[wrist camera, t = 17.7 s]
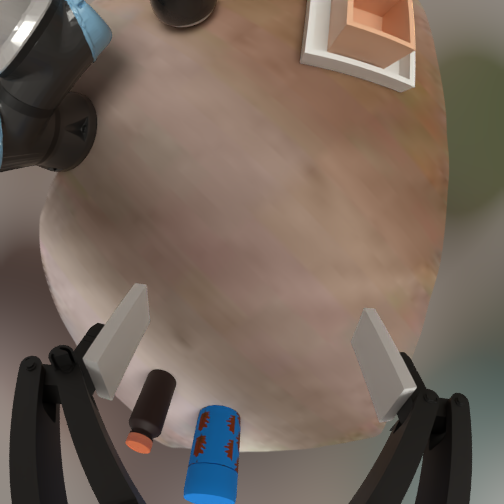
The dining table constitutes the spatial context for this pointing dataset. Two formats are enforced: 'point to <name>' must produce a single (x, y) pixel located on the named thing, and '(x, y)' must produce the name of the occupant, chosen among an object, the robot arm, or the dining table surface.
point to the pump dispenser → (182, 11)
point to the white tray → (316, 55)
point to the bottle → (150, 411)
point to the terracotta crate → (372, 30)
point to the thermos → (214, 457)
